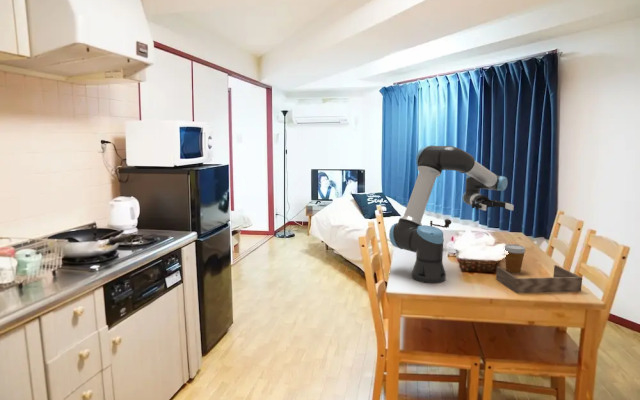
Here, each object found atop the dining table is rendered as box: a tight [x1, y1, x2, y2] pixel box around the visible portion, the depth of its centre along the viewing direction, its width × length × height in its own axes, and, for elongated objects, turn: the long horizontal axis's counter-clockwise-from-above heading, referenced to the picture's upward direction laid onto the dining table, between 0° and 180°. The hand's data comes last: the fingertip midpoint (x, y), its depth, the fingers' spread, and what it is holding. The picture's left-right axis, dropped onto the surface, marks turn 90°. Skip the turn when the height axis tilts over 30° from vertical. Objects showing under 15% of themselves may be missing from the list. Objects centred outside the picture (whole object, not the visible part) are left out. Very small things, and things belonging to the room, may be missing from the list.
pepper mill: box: [429, 218, 452, 229], centre depth 238 cm, size 16×11×18 cm
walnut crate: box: [495, 264, 583, 294], centre depth 178 cm, size 28×17×6 cm, turn 93°
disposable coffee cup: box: [504, 243, 526, 274], centre depth 197 cm, size 10×10×12 cm
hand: (499, 207), depth 199 cm, fingers open, 13 cm apart
